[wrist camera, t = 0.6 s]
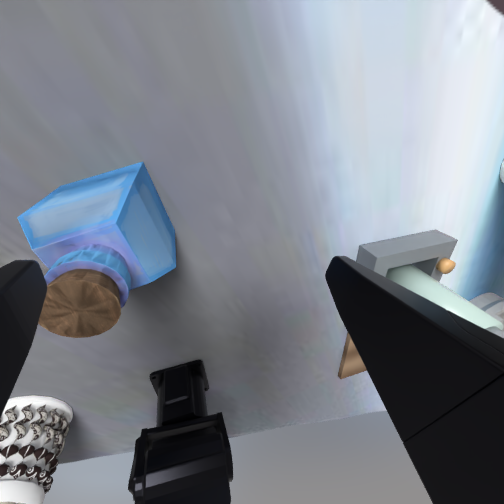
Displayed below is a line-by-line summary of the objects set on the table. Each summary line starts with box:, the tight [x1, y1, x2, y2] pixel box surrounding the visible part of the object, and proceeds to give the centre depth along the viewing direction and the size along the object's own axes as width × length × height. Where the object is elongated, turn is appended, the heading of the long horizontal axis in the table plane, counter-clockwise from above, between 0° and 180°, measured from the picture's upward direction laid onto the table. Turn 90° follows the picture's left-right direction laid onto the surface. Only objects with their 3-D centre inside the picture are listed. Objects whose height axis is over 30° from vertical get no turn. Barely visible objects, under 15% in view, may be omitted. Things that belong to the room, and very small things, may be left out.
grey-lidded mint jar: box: [386, 264, 504, 338], centre depth 28 cm, size 6×6×13 cm
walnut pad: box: [338, 333, 367, 379], centre depth 42 cm, size 12×12×1 cm
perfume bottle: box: [17, 162, 176, 338], centre depth 15 cm, size 6×6×12 cm
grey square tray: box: [356, 230, 458, 282], centre depth 32 cm, size 12×12×4 cm
